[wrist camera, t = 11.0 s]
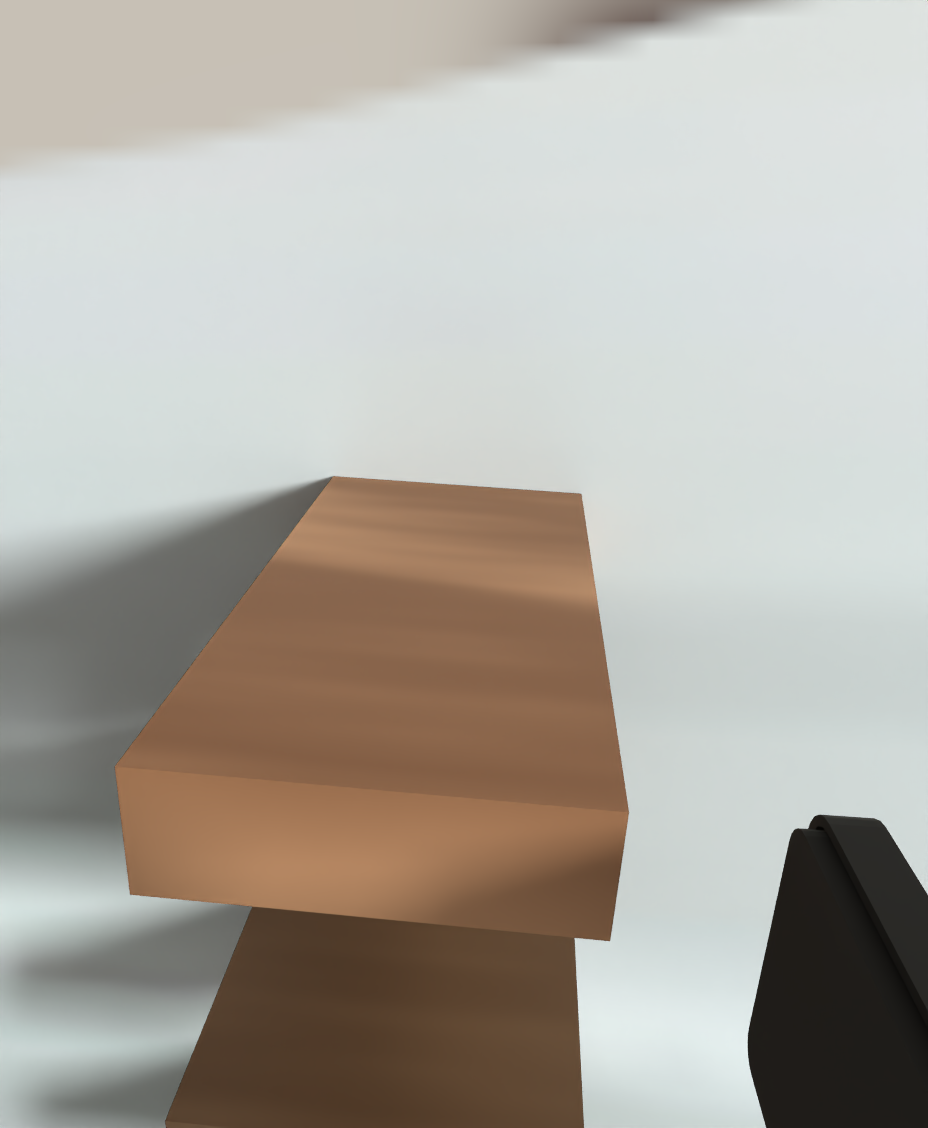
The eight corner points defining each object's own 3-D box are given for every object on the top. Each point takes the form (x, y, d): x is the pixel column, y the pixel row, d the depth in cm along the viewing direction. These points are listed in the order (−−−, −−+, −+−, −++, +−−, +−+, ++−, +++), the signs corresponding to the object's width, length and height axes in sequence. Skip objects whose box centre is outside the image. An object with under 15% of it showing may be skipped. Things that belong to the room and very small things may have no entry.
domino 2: (556, 771, 20) (572, 1253, 11) (339, 754, 20) (176, 1208, 11) (563, 711, 20) (585, 1165, 10) (339, 693, 20) (164, 1121, 11)
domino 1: (573, 567, 18) (609, 941, 9) (333, 549, 19) (130, 894, 9) (581, 493, 18) (628, 812, 8) (333, 476, 18) (115, 766, 9)
